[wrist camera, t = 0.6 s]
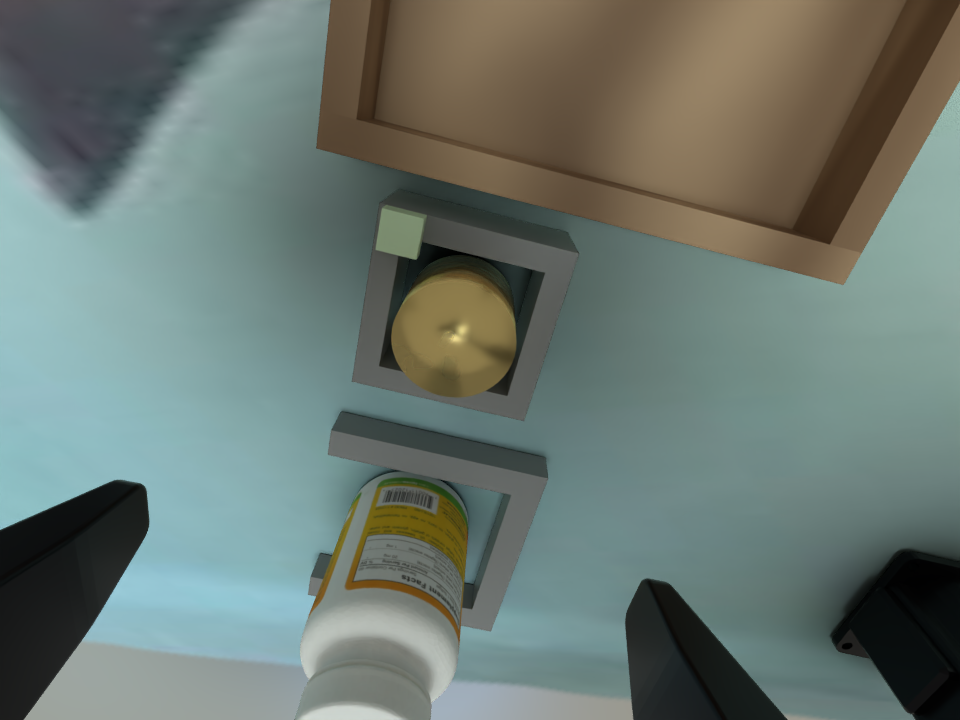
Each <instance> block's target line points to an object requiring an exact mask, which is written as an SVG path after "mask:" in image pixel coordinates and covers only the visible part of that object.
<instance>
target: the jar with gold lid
mask: <svg viewBox="0 0 960 720" xmlns="http://www.w3.org/2000/svg"><path fill="white" fill-rule="evenodd" d="M391 342H392V349H393V353H394V356H395V359H396V361H397V363H398V365H399V366H400V368H401V370H402V371H403V372H404V373H405V375H406V376H407V377H408V378H409V379H410V380H411V381H412V382H413V383H415V384H416V385H418V386H419V387H421V388H422V389H424V390H426V391H428V392H431V393H433V394H436V395H440V396H445V397H454V398H458V397H468V396H473V395H476V394H479V393H482V392H484V391H486V390H488V389H489V388H491V387H493V386H494V385H495V384H497V383H498V382H499V381H500V380H501V379H502V378H503V377H504V376H505V374H506V373H507V372H508V370H509V368H510V366H511V365H512V362H513V359H514V356H515V352H516V343H517V342H516V326H515V310H514V298H513V294H512V291H511V288H510V286H509V284H508V282H507V280H506V279H505V278H504V276H503V275H502V274H501V273H500V272H499V271H498V270H497V269H496V268H495V267H494V266H492V265H491V264H489V263H488V262H486V261H484V260H481V259H479V258H476V257H472V256H467V255H454V256H448V257H444V258H441V259H438V260H436V261H434V262H432V263H431V264H429V265H428V266H427V267H425V268H424V269H423V270H422V271H421V272H420V273H419V275H418V276H417V277H416V279H415V281H414V282H413V284H412V286H411V288H410V290H409V292H408V294H407V296H406V298H405V299H404V301H403V303H402V305H401V307H400V309H399V311H398V313H397V315H396V317H395V320H394V323H393V327H392V334H391Z"/></svg>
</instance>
